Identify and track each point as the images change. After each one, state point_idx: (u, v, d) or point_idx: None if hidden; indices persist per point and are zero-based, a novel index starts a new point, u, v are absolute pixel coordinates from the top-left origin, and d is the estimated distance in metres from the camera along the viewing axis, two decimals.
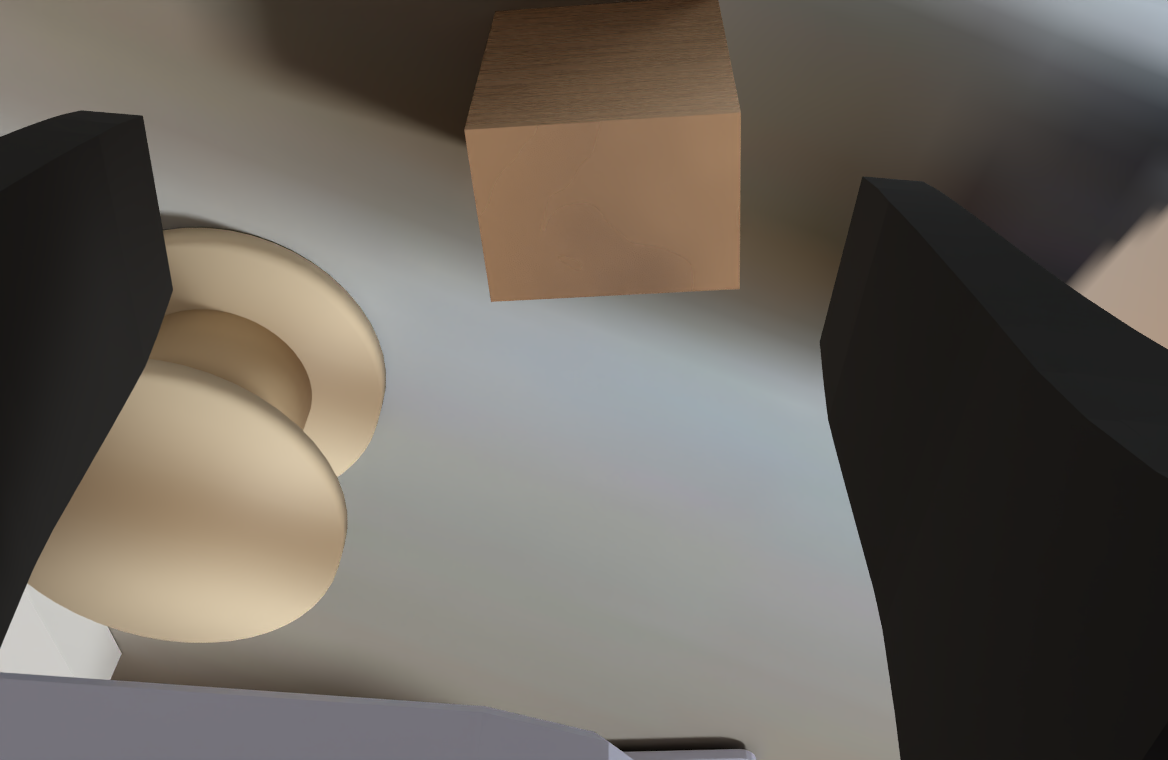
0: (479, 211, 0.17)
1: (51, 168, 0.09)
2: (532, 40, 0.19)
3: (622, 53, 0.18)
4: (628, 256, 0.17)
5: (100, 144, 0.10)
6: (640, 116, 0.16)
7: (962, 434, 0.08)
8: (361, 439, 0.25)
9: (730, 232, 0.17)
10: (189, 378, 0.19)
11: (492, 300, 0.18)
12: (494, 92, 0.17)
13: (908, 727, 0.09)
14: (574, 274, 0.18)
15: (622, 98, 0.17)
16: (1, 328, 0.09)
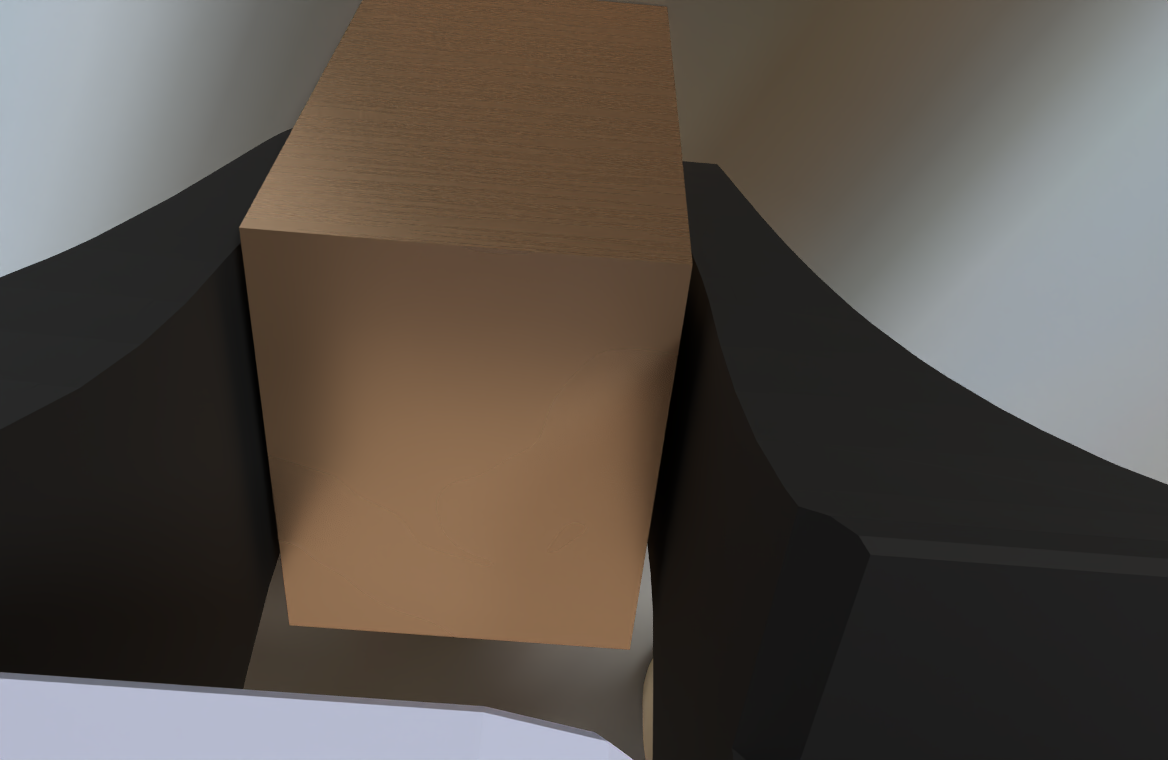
0: (440, 635, 0.10)
1: None
2: None
3: None
4: (567, 451, 0.08)
5: None
6: (264, 388, 0.08)
7: (690, 413, 0.08)
8: None
9: (536, 269, 0.07)
10: None
11: None
12: None
13: (656, 710, 0.09)
14: (592, 536, 0.09)
15: None
16: None
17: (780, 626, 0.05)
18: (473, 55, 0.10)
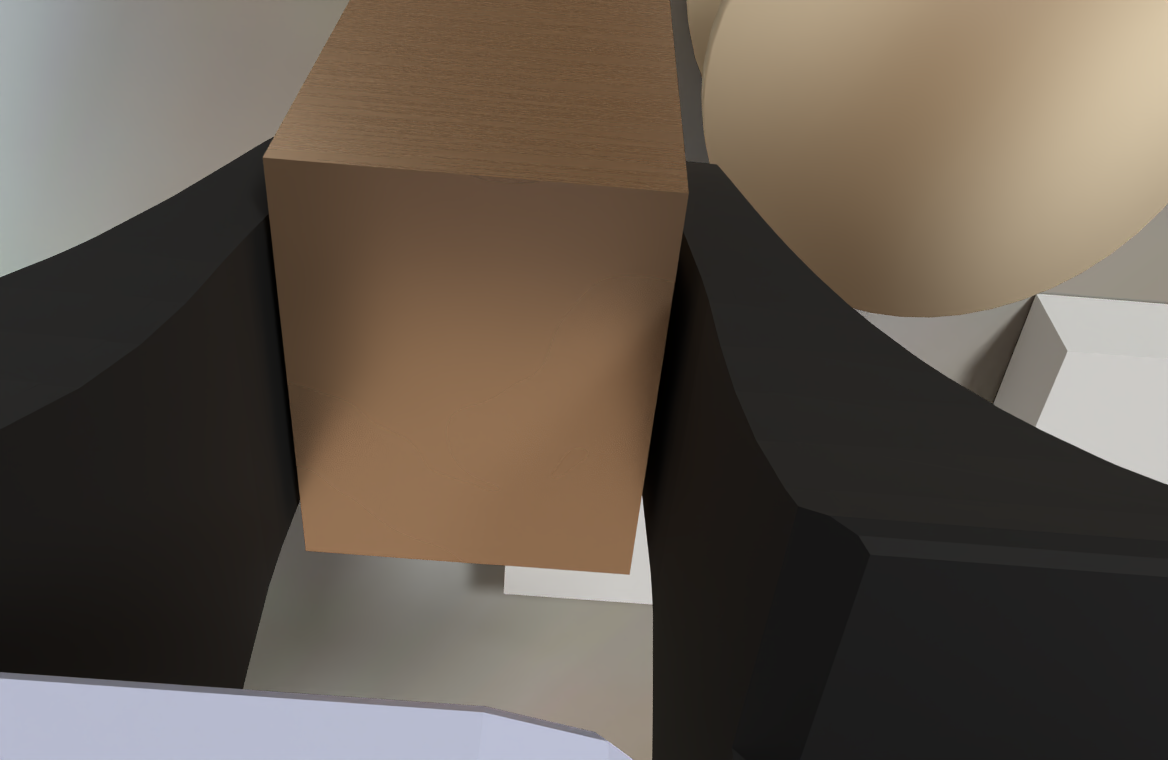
0: (449, 560, 0.10)
1: None
2: None
3: None
4: (571, 377, 0.09)
5: None
6: (284, 316, 0.09)
7: (690, 413, 0.08)
8: None
9: (543, 198, 0.08)
10: None
11: (626, 574, 0.10)
12: None
13: (656, 708, 0.09)
14: (594, 461, 0.09)
15: None
16: (262, 348, 0.09)
17: (780, 626, 0.05)
18: (480, 7, 0.10)
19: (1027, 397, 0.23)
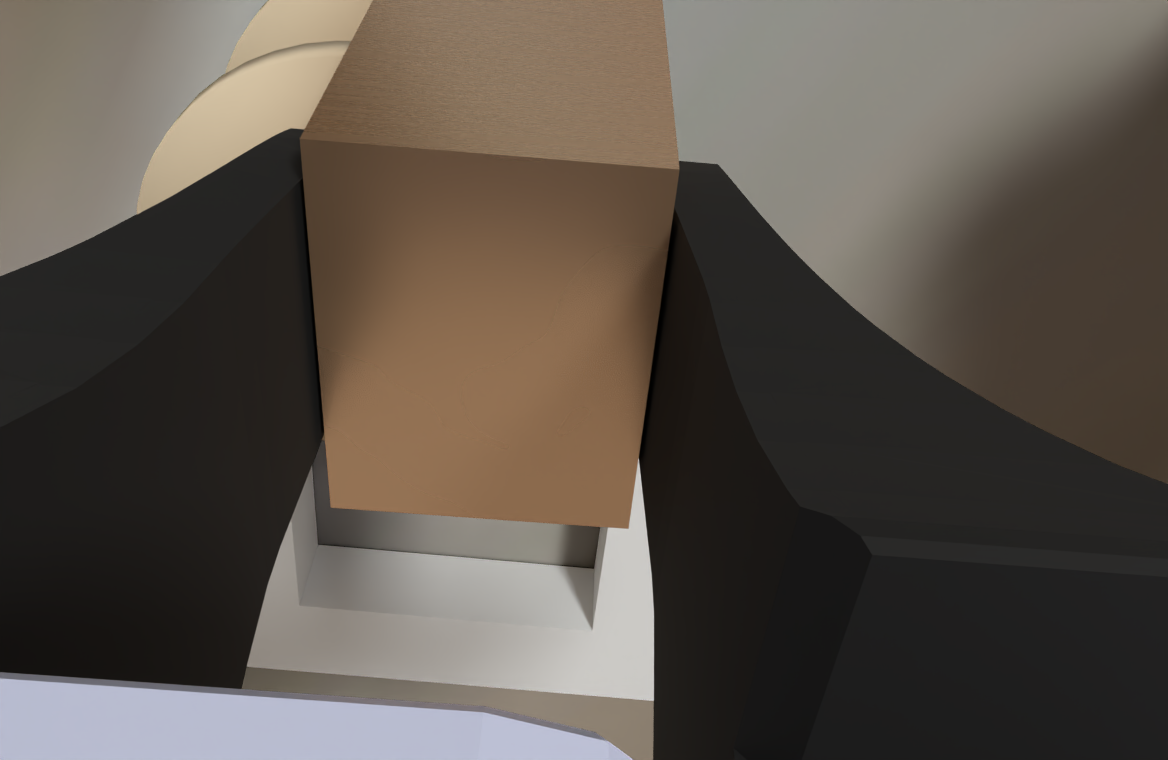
0: (463, 516, 0.11)
1: (298, 189, 0.09)
2: None
3: None
4: (574, 340, 0.10)
5: None
6: (315, 284, 0.10)
7: (691, 413, 0.08)
8: None
9: (548, 175, 0.09)
10: None
11: (625, 527, 0.11)
12: None
13: (657, 709, 0.09)
14: (595, 419, 0.10)
15: None
16: (260, 348, 0.09)
17: (780, 626, 0.05)
18: (489, 10, 0.11)
19: None
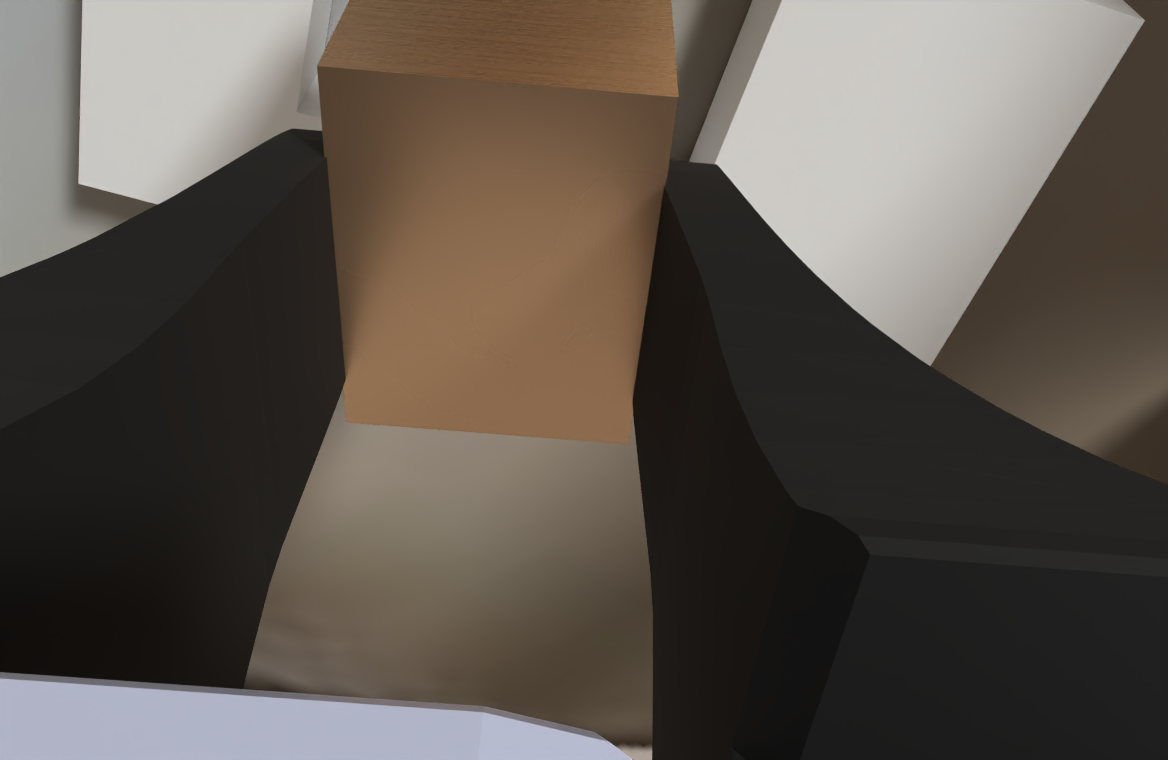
0: (471, 431, 0.12)
1: (300, 189, 0.09)
2: None
3: None
4: (577, 262, 0.10)
5: None
6: (331, 208, 0.10)
7: (690, 413, 0.08)
8: None
9: (554, 101, 0.09)
10: None
11: (625, 443, 0.12)
12: None
13: (656, 709, 0.09)
14: (597, 338, 0.11)
15: None
16: (262, 349, 0.09)
17: (780, 626, 0.05)
18: None
19: (768, 5, 0.18)
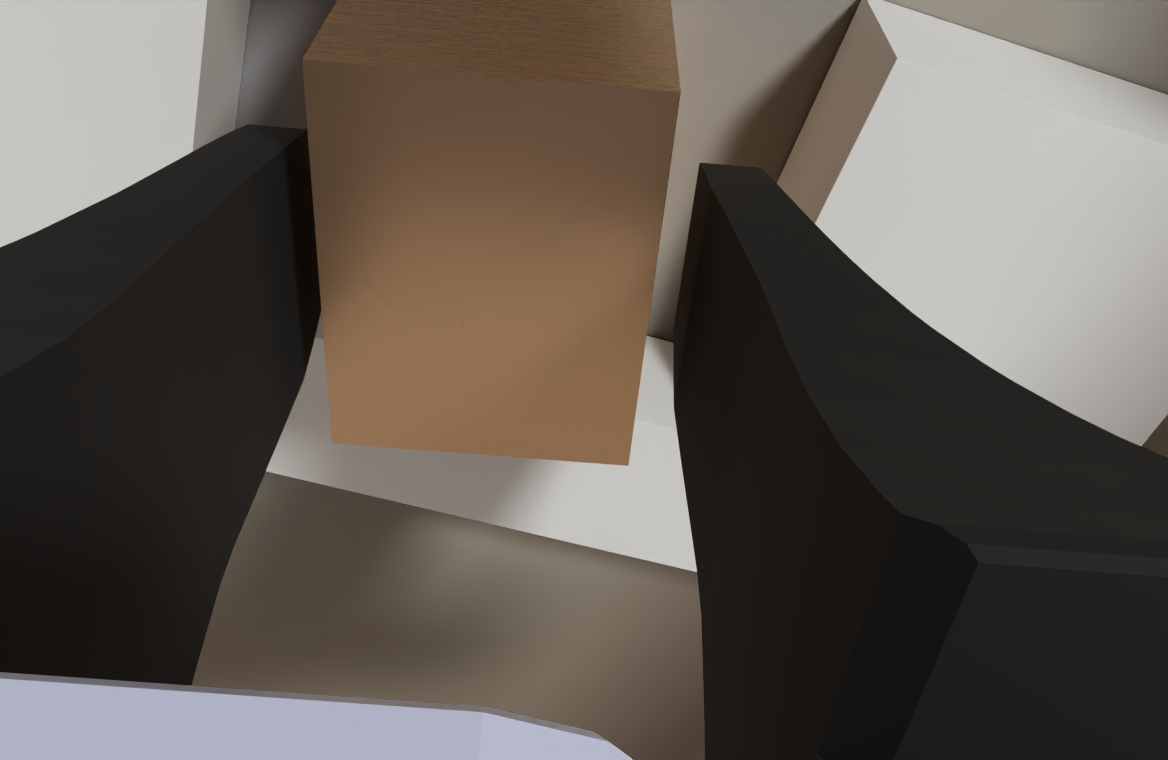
0: (463, 451, 0.11)
1: (249, 184, 0.09)
2: None
3: None
4: (575, 269, 0.10)
5: (283, 159, 0.10)
6: (316, 213, 0.10)
7: (748, 417, 0.08)
8: None
9: (550, 97, 0.09)
10: None
11: (625, 464, 0.11)
12: None
13: (710, 713, 0.09)
14: (595, 351, 0.10)
15: None
16: (209, 344, 0.09)
17: (877, 635, 0.05)
18: None
19: (818, 167, 0.13)
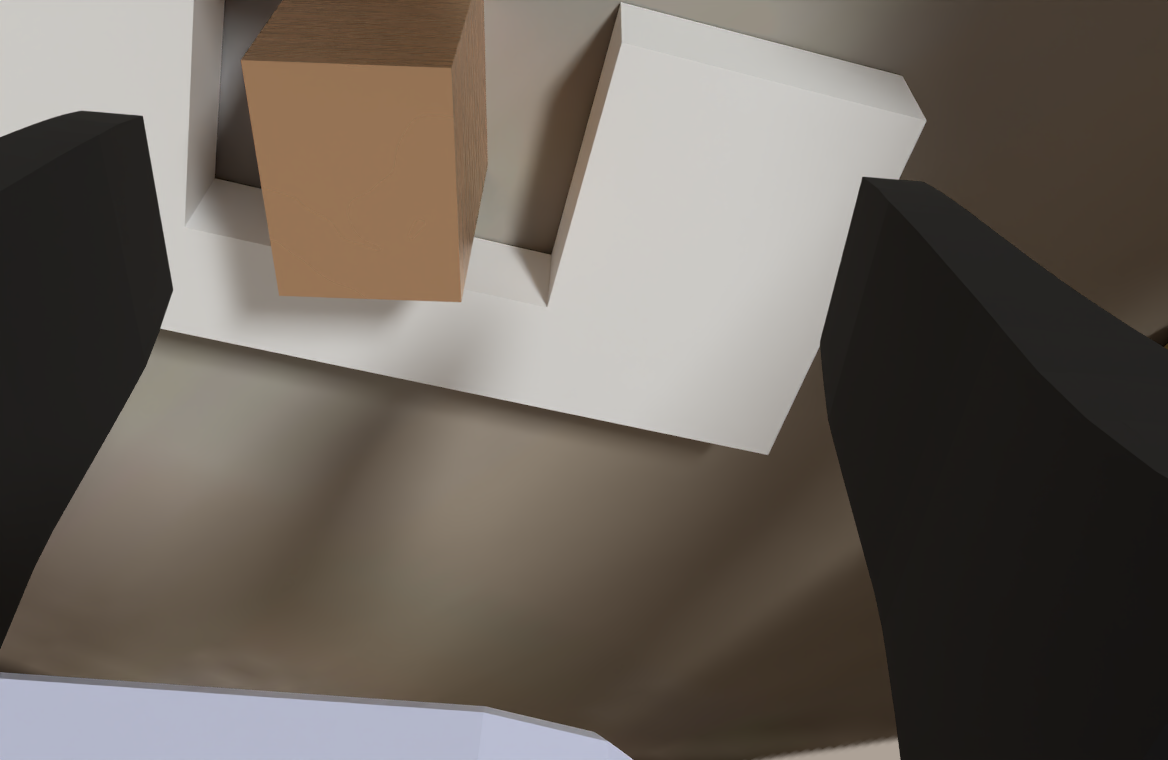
0: (359, 297, 0.18)
1: (51, 168, 0.09)
2: None
3: None
4: (409, 176, 0.17)
5: (100, 144, 0.10)
6: (257, 149, 0.17)
7: (962, 434, 0.08)
8: None
9: (379, 75, 0.16)
10: None
11: (458, 301, 0.18)
12: None
13: (908, 727, 0.09)
14: (429, 227, 0.17)
15: None
16: (1, 328, 0.09)
17: None
18: None
19: (596, 117, 0.20)
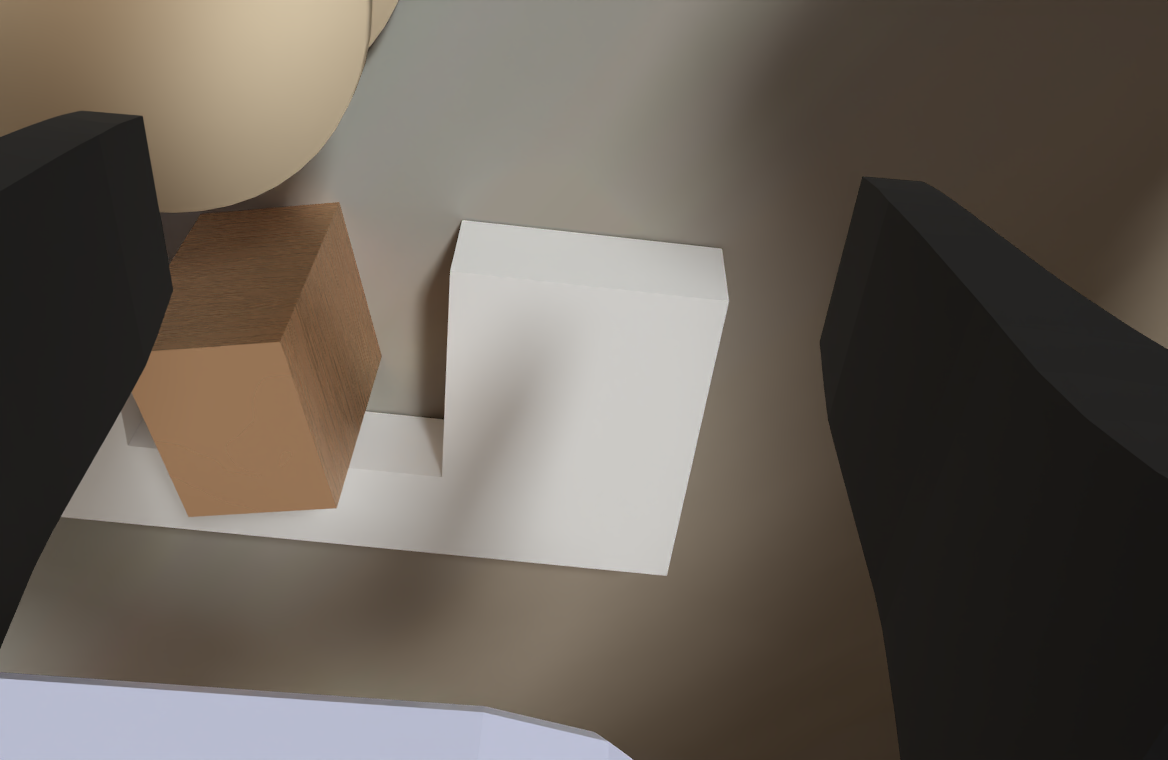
0: (252, 512, 0.22)
1: (51, 168, 0.09)
2: None
3: None
4: (268, 421, 0.20)
5: (100, 144, 0.10)
6: (144, 413, 0.20)
7: (962, 434, 0.08)
8: None
9: (225, 353, 0.19)
10: None
11: None
12: None
13: (907, 727, 0.09)
14: (295, 456, 0.21)
15: None
16: (1, 328, 0.09)
17: None
18: (232, 251, 0.22)
19: None
